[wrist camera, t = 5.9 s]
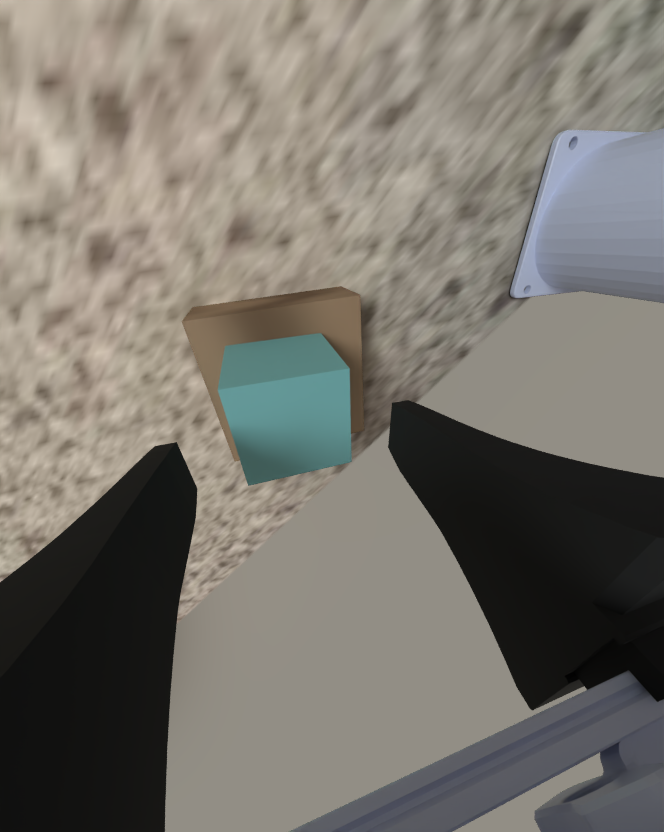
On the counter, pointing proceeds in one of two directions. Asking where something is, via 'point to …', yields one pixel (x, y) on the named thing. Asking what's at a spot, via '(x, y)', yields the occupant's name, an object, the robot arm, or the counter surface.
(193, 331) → the walnut block
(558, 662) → the robot arm
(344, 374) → the teal cube
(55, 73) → the counter surface
